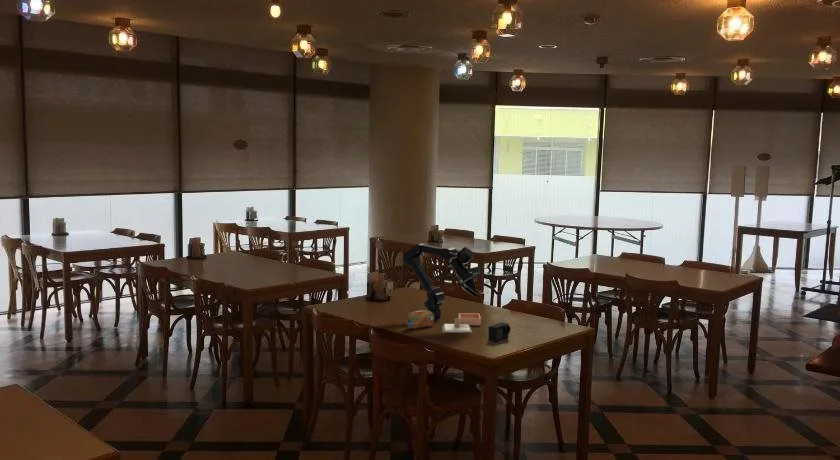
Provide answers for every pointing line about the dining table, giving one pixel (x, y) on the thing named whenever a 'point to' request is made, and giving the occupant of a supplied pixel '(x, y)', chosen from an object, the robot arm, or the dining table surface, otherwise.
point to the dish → (470, 318)
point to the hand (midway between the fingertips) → (476, 294)
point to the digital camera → (498, 331)
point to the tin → (420, 319)
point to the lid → (456, 327)
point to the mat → (458, 332)
